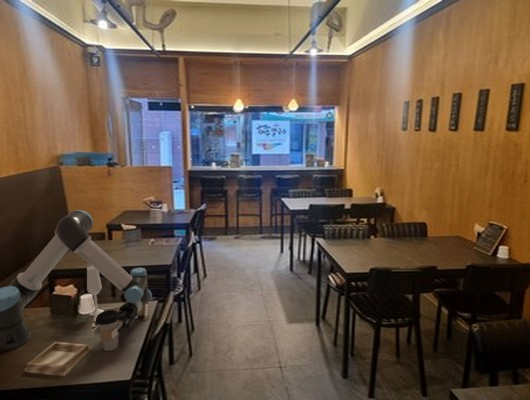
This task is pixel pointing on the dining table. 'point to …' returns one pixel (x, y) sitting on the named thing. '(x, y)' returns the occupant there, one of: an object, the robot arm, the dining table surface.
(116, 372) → the dining table surface
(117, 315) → the coffee cup
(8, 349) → the robot arm
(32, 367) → the wooden tray
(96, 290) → the champagne flute
